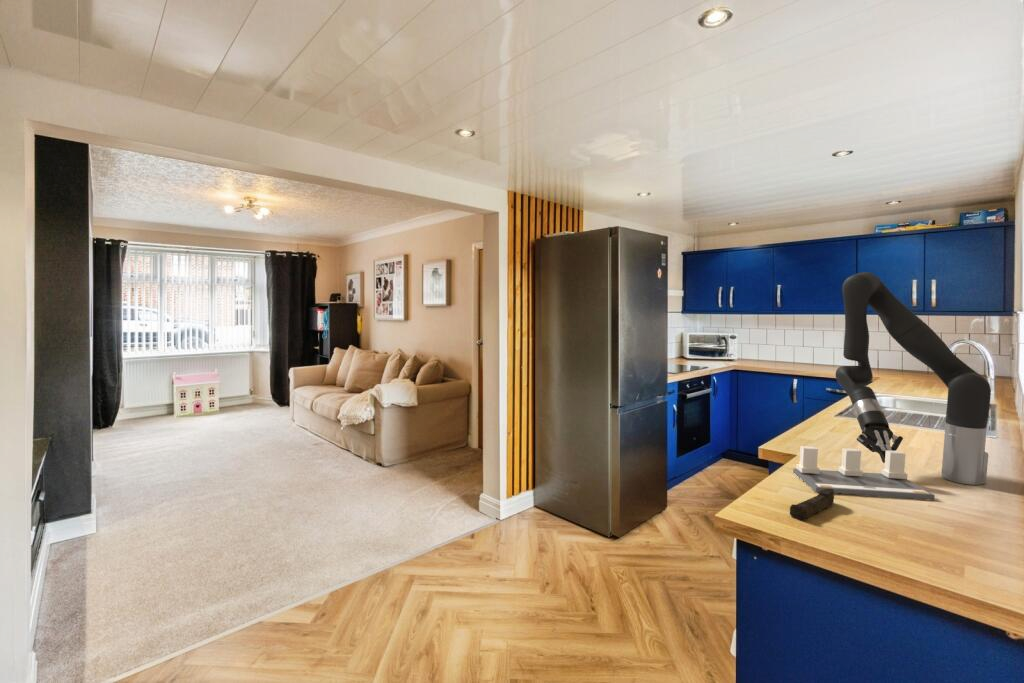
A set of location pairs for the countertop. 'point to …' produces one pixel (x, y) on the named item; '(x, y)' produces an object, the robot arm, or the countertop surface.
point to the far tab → (808, 460)
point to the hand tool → (812, 505)
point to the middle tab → (850, 462)
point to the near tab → (894, 465)
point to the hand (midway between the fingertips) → (889, 463)
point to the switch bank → (864, 484)
